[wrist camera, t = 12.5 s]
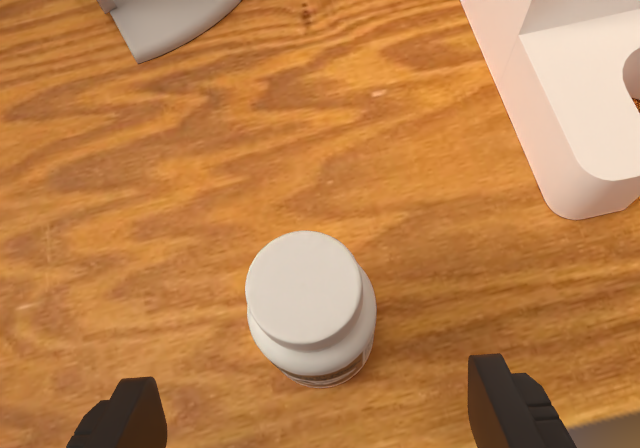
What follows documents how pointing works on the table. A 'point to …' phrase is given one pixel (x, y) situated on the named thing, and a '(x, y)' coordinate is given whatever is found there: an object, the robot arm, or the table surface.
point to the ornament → (163, 22)
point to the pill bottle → (311, 308)
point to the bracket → (569, 94)
